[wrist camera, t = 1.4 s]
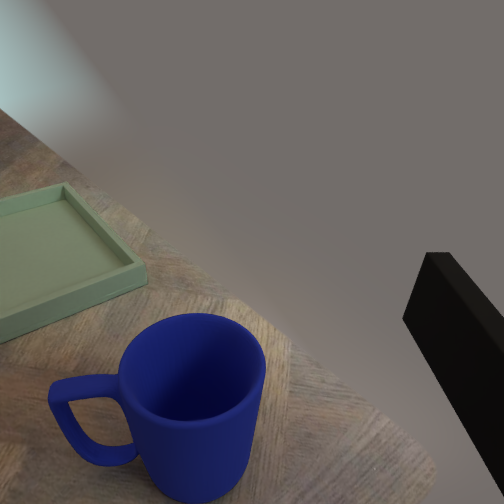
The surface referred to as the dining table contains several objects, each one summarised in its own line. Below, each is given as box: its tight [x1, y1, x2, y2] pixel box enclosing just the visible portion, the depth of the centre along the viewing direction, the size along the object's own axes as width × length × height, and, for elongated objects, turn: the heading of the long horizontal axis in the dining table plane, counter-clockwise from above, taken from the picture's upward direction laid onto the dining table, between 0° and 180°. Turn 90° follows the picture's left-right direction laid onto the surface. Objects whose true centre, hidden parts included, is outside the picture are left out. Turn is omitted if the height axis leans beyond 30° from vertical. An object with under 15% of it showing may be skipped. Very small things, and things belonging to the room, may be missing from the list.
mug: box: [48, 313, 266, 504], centre depth 28 cm, size 8×12×10 cm
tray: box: [0, 182, 148, 344], centre depth 48 cm, size 22×18×3 cm
